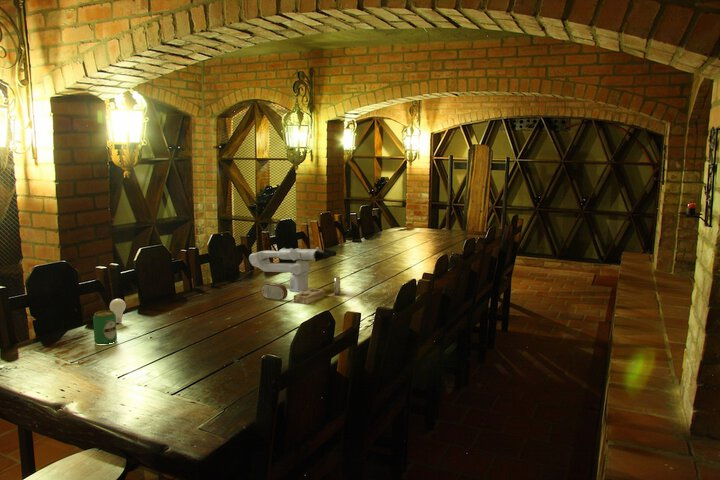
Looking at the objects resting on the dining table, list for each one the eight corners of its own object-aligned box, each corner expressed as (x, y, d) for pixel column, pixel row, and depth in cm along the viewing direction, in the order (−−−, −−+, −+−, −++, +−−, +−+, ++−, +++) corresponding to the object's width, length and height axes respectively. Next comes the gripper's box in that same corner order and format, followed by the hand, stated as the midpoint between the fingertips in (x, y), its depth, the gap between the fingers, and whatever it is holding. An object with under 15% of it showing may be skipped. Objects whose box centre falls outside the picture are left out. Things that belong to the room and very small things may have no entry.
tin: (287, 300, 279) (287, 284, 278) (284, 302, 276) (284, 285, 275) (263, 296, 285) (263, 281, 284) (259, 298, 282) (259, 282, 281)
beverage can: (102, 347, 209) (100, 317, 207) (90, 343, 213) (88, 313, 212) (121, 341, 216) (119, 312, 214) (109, 337, 220) (107, 308, 218)
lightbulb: (111, 326, 234) (109, 301, 232) (110, 322, 239) (108, 297, 238) (127, 324, 237) (125, 299, 235) (126, 320, 242) (124, 296, 240)
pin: (333, 295, 289) (333, 277, 287) (335, 293, 291) (336, 276, 290) (338, 295, 287) (338, 278, 286) (340, 294, 290) (341, 277, 289)
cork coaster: (326, 296, 288) (326, 295, 288) (334, 293, 295) (334, 292, 295) (340, 298, 284) (340, 297, 284) (347, 294, 291) (347, 294, 291)
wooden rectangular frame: (293, 302, 275) (293, 295, 275) (311, 294, 291) (312, 287, 291) (307, 304, 272) (307, 297, 271) (325, 296, 288) (325, 289, 287)
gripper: (302, 249, 286) (325, 249, 280) (316, 245, 299) (338, 245, 293) (303, 262, 287) (326, 262, 281) (317, 257, 300) (339, 258, 294)
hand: (332, 254), depth 287 cm, fingers open, 7 cm apart
